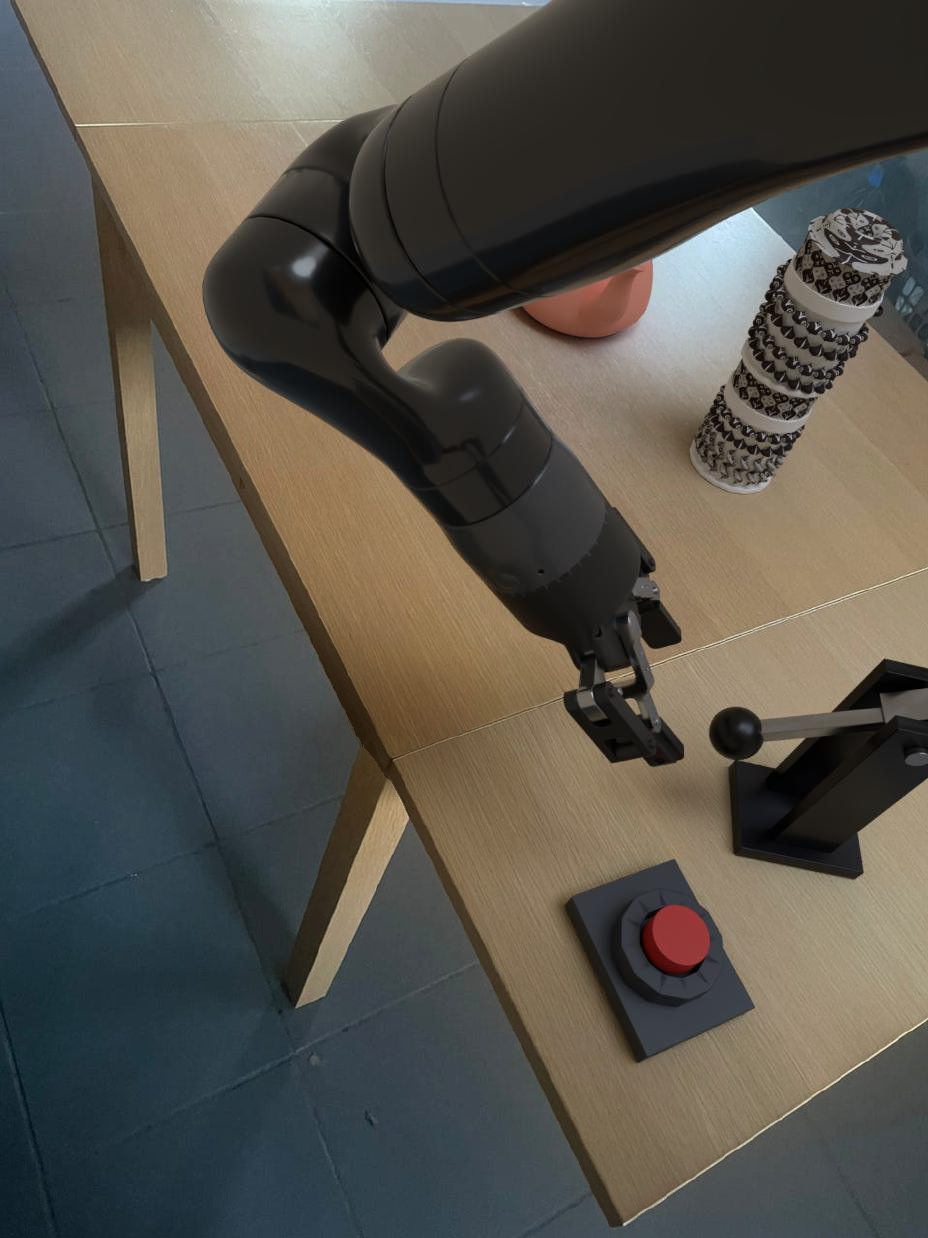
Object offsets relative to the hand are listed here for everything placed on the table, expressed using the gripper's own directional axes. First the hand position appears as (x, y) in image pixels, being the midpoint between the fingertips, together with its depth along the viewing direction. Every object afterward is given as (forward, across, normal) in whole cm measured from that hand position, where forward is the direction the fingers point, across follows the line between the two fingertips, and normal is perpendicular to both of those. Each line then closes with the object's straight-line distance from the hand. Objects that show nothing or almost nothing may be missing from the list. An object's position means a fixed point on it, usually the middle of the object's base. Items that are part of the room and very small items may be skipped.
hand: (668, 696), depth 56 cm
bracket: (+18, 0, -2) cm, 18 cm away
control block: (+10, -12, +6) cm, 17 cm away
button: (+8, -12, +4) cm, 15 cm away
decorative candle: (+16, +38, 0) cm, 41 cm away
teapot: (+4, +57, +12) cm, 58 cm away
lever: (+8, 0, -7) cm, 10 cm away
